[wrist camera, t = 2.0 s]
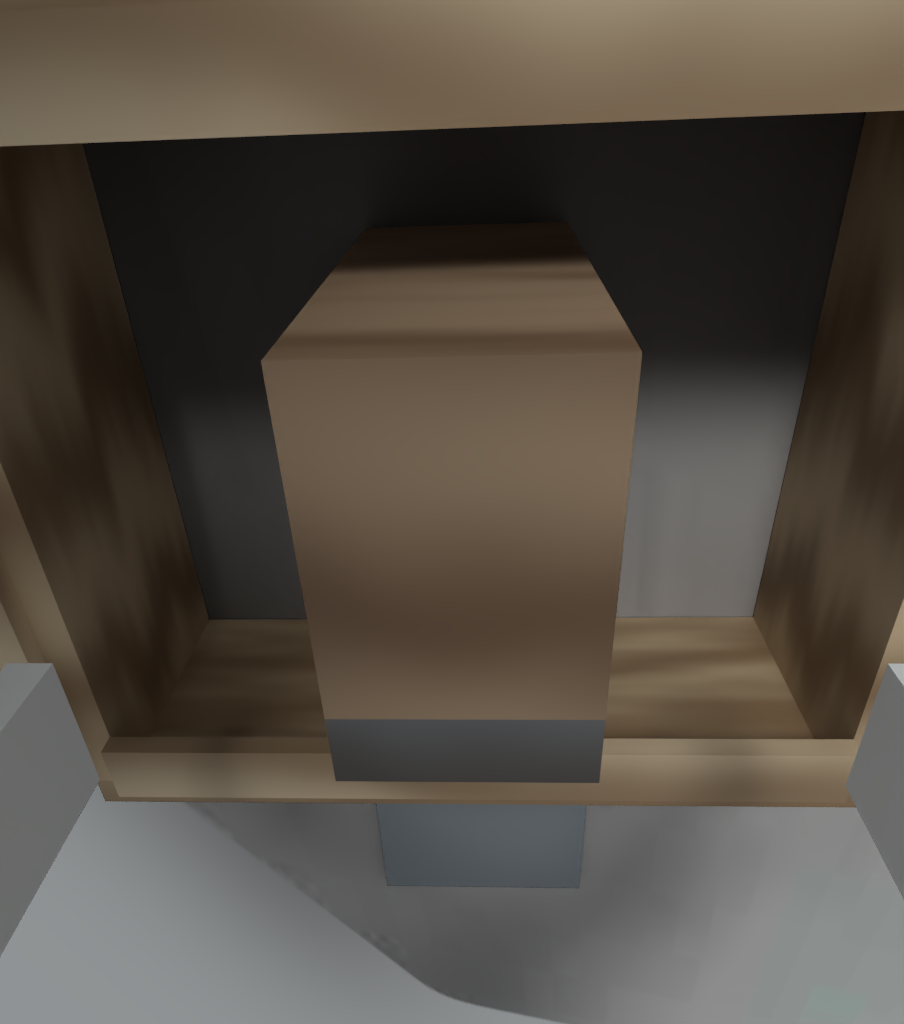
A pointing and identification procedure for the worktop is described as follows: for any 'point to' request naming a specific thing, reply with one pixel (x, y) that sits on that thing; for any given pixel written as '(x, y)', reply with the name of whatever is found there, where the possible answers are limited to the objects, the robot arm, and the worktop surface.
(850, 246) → the wooden crate
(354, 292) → the block
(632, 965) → the worktop surface
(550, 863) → the mat
